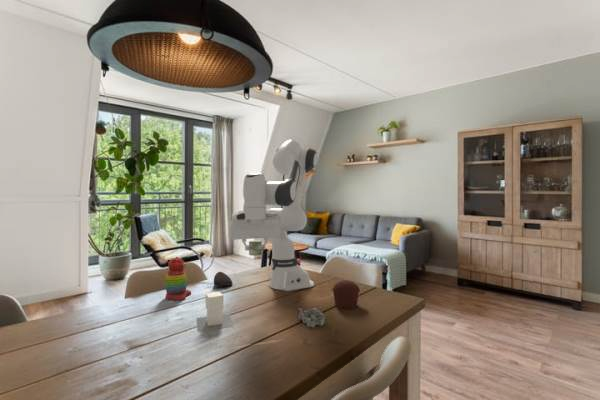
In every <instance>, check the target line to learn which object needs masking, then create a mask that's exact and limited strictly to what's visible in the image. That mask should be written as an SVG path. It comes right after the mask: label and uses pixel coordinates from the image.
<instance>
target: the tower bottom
mask: <svg viewBox="0 0 600 400" xmlns="http://www.w3.org/2000/svg"><path fill="white" fill-rule="evenodd" d="M222 315H223V309H222V310H217V311H212V312H209V311H208V310H207V309H206V317H207V324H208V326H211V325H218V324H222Z"/></svg>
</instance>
